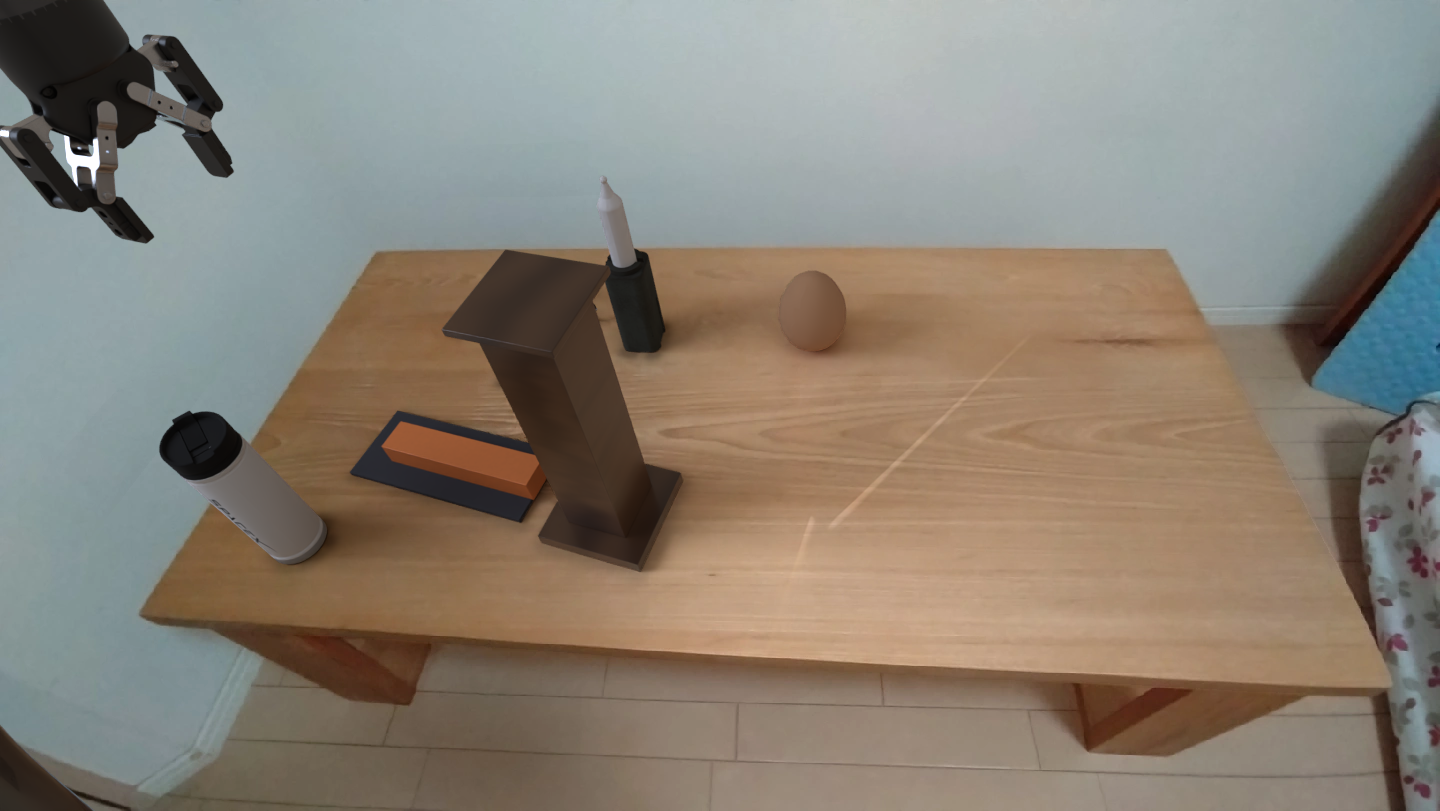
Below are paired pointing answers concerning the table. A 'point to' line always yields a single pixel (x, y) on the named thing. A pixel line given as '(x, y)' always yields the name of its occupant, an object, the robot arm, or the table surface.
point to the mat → (436, 485)
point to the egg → (812, 311)
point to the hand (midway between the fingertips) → (184, 206)
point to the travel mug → (242, 486)
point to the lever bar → (466, 459)
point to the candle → (629, 279)
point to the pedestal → (568, 403)
